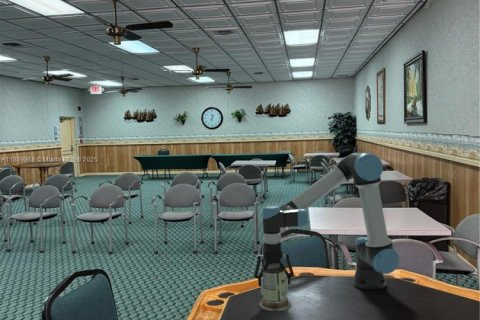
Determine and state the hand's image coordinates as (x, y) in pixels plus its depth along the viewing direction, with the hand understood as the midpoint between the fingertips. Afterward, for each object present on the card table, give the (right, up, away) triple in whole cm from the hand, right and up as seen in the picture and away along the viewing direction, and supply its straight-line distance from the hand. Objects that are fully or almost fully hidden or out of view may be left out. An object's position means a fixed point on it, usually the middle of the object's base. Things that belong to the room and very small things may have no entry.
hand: (274, 292), depth 190 cm
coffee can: (0, -3, 0) cm, 3 cm away
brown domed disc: (0, -6, 0) cm, 6 cm away
